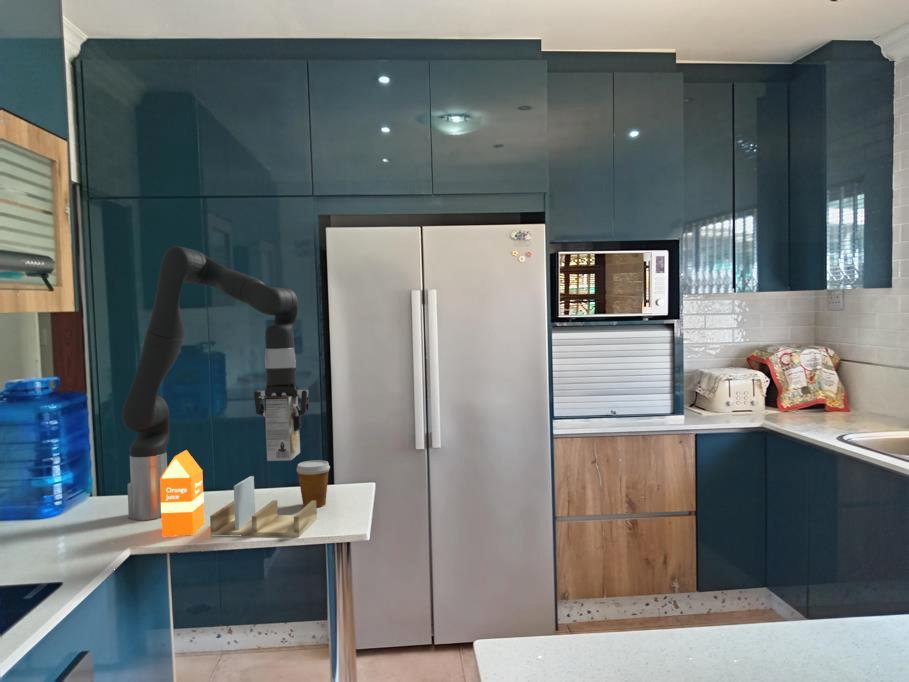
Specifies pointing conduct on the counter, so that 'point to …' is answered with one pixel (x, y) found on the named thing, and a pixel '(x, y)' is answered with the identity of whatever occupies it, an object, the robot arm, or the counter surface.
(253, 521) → the rack
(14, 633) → the counter surface
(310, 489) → the disposable coffee cup
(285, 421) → the coffee box
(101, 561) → the counter surface
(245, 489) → the pale grey flat panel
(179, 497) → the orange juice
